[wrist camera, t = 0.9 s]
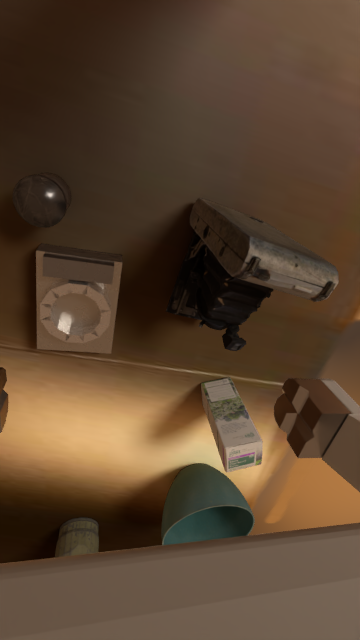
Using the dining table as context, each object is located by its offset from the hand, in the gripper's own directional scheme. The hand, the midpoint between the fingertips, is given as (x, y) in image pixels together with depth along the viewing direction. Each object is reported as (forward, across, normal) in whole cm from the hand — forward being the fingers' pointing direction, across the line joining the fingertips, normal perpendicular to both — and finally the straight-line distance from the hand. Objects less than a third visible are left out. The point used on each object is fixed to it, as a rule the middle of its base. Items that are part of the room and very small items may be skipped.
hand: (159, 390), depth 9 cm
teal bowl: (+34, -22, +54) cm, 68 cm away
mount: (+34, +5, +13) cm, 36 cm away
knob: (+34, +8, 0) cm, 35 cm away
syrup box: (+34, -20, +29) cm, 49 cm away
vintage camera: (+34, -12, +5) cm, 36 cm away
